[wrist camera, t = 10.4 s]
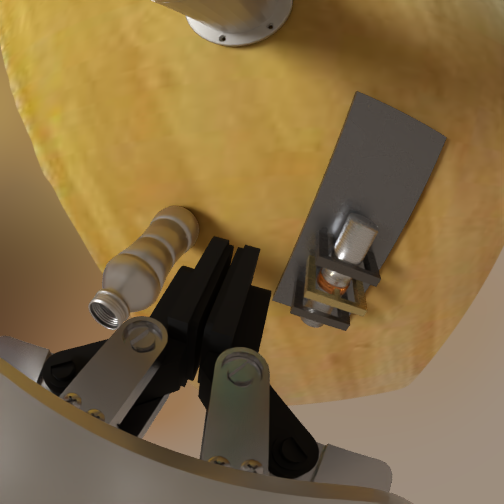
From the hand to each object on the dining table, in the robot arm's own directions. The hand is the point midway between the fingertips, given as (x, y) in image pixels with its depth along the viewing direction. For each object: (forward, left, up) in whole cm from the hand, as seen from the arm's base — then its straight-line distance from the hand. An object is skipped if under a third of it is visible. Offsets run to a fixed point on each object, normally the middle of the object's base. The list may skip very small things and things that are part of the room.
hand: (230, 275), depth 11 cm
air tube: (+13, +11, -25) cm, 30 cm away
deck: (+7, +11, -27) cm, 29 cm away
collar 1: (+10, +11, -25) cm, 29 cm away
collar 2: (+18, +11, -25) cm, 33 cm away
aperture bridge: (+13, +11, -25) cm, 31 cm away
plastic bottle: (+15, -11, -27) cm, 33 cm away
